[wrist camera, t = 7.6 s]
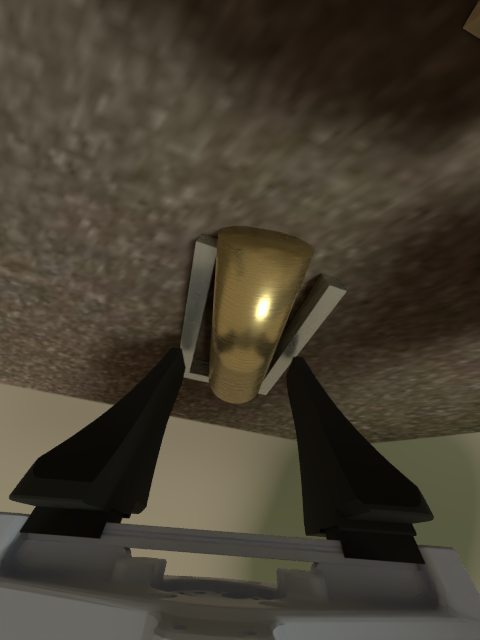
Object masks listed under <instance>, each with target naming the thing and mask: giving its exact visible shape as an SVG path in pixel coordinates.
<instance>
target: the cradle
mask: <svg viewBox="0 0 480 640" xmlns="http://www.w3.org/2000/svg"><path fill="white" fill-rule="evenodd" d="M217 241H218V239H217V238H214V237H211V236H208V235H205V234H202V235H201V236H200V237H199V238H198V240H197V241H196V245H195V252H194V258H193V265H192V271H191V278H190V284H189V291H188V298H187V304H186V311H185V317H184V324H183V331H182V337H181V344H180V348H182V352H183V357H184V362H185V367H186V369H185V373H184V377H185V378H189V379H194V380H198V381H203V382H208V383H209V379H208V377H209V362H206V361H201V360H197V359H194V355H195V351H196V347H197V343H198V338H199V334H200V330H201V326H202V321H203V317H204V313H205V309H206V304H207V300H208V296H209V292H210V287H211V283H212V279H213V275H214V270H215V266H216V256H217ZM346 292H347V290H346V289H345V288H344V287H343V286H342V284H341V283H340V282H339V281H338V280H337V279H336V278H333V277H330V276H327V275H324V274H321V275H320V277H319V278H318V280H317V281H316V283H315V285H314V286H313V288H312V289H311V291H310V292H309V294H308V296H307V297H306V299H305V300H304V302H303V303H302V305H301V307H300V308H299V310H298V311H297V313H296V315H295V316H294V318H293V319H292V321H291V322H290V324H289V326H288V327H287V329H286V330H285V332H284V333H283V335H282V337H281V338H280V340H279V342H278V345H277V347H276V350H275V352H274V355H273V357H272V360H271V363H270V365H269V368H268V370H267V373H266V375H265V378H264V380H263V383H262V385H261V388H260V390H259V392H258V393H259V394H263V395H266V394H267V393H268V392H269V391H270V389H271V388H272V387H273V385H274V384H275V383H276V382H277V380H278V379H279V378H280V376H281V375H282V374H283V373H284V371H285V370H286V369H287V367H288V366H289V365H290V364H291V361H292V359H293V357H296V356H297V355H298V353H299V352H300V351H301V349H302V348H303V347H304V346H305V344H306V343H307V342H308V340H309V339H310V338H311V337H312V335H313V334H314V333H315V331H316V330H317V329H318V328H319V326H320V325H321V324H322V322H323V321H324V320H325V319H326V317H327V316H328V315H329V313H330V312H331V311H332V310H333V308H334V307H335V306H336V304H337V303H338V302H339V301H340V299H341V298H342V297H343V295H344V294H345V293H346Z"/></svg>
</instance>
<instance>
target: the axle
mask: <svg viewBox="0 0 480 640" xmlns="http://www.w3.org/2000/svg"><path fill="white" fill-rule="evenodd" d="M313 254H314V249H313V247H312V246H311V245H309V244H308V243H306V242H305V241H303V240H301V239H299V238H296V237H294V236H291V235H288V234H285V233H281V232H277V231H271V230H265V229H260V228H254V227H247V226H232V227H225V228H222V229H220V230H219V231H218V241H217V256H216V271H215V286H214V301H213V317H212V332H211V347H210V362H209V377H208V379H209V385H210V388H211V390H212V391H213V393H214V394H215V395H216V396H217V397H218V398H220V399H221V400H223V401H225V402H228V403H233V404H240V403H245V402H248V401H250V400H251V399H253V398H254V397H255V396H256V395H257V394H258V392H259V390H260V388H261V385H262V383H263V380H264V378H265V375H266V373H267V370H268V368H269V365H270V363H271V360H272V357H273V355H274V352H275V350H276V347H277V345H278V342H279V340H280V337H281V335H282V332H283V330H284V327H285V325H286V322H287V320H288V317H289V315H290V312H291V310H292V307H293V304H294V302H295V299H296V297H297V294H298V292H299V289H300V287H301V284H302V282H303V279H304V277H305V274H306V272H307V269H308V267H309V264H310V262H311V259H312V256H313Z"/></svg>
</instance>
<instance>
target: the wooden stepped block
mask: <svg viewBox="0 0 480 640" xmlns="http://www.w3.org/2000/svg"><path fill="white" fill-rule="evenodd" d="M463 29H465V30H466V31H468V32H470V33H471V34H473V35H474V36H476V37H477V38H479V39H480V0H479V1H478V3H477V5H476V6H475V8H474V10H473V11H472V13H471V15H470V16H469V18H468V20H467V21H466V23H465V24H464V26H463Z"/></svg>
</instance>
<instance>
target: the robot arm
mask: <svg viewBox="0 0 480 640" xmlns="http://www.w3.org/2000/svg"><path fill="white" fill-rule="evenodd" d="M185 369H186V367H185V362H184V357H183V352H182V348H171V349H170V350H169V351H168V352H167V354H166V355H165V356H164V357H163V358H162V359H161V360H160V362H159V363H158V364H157V365H156V366H155V367H154V368H153V369H152V370H151V371H150V372H149V373H148V375H147V376H146V377H145V378H144V379H143V380H142V381H141V382H140V383H138V384H137V385H136V386H135V387H134V388H133V389H132V390H131V391H130V392H129V393H128V394H127V395H126V396H124V397H123V398H122V399H121V400H120V401H119V402H117V403H116V404H115V405H114V406H113V407H111V408H110V409H109V410H108V411H106V412H105V413H104V414H102V415H101V416H100V417H99V418H97V419H96V420H95V421H93V422H92V423H90V424H89V425H87V426H86V427H85V428H83V429H82V430H80V431H79V432H78V433H76V434H75V435H73V436H72V437H70V438H69V439H67V440H66V441H64V442H63V443H61V444H60V445H58V446H56V447H55V448H53V449H52V450H50V451H49V452H47V453H46V454H44V455H42V456H41V457H39V458H38V459H37V460H36V461H35V463H34V464H33V465H32V466H31V468H30V469H29V470H28V472H27V473H26V474H25V476H24V477H23V478H22V480H21V481H20V482H19V484H18V485H17V486H16V488H15V489H14V490H13V492H12V493H11V494H10V496H9V499H10V500H12V501H16V502H20V503H24V504H29V505H33V506H36V507H35V508H34V510H33V512H32V513H31V515H29V514H21V513H8V512H0V640H480V594H479V593H478V591H477V589H476V587H475V585H474V584H473V582H472V580H471V578H470V576H469V574H468V573H467V571H466V569H465V567H464V565H463V563H462V562H461V560H460V558H459V556H458V554H457V552H456V550H454V549H453V548H452V547H442V546H429V545H417V544H416V541H415V539H414V537H413V536H416V531H415V529H414V527H413V525H412V523H419V522H426V521H431V520H433V518H434V516H433V514H432V512H431V510H430V508H429V506H428V505H427V503H426V501H425V499H424V497H423V495H422V494H421V492H420V490H419V489H418V487H417V486H416V485H414V484H413V483H412V482H411V481H410V480H409V479H408V478H406V477H405V476H404V475H403V474H402V473H401V472H400V471H399V470H397V469H396V468H395V467H394V466H393V465H392V464H391V463H389V462H388V461H387V460H386V459H385V458H384V457H383V456H382V455H381V454H380V453H379V452H378V451H377V450H376V449H375V448H374V447H373V446H372V445H371V444H370V443H369V442H368V441H367V440H366V439H365V438H364V437H363V436H362V435H361V434H360V433H359V432H358V431H357V430H356V429H355V427H354V426H353V425H352V424H351V423H350V422H349V421H348V420H347V418H346V417H345V416H344V415H343V414H342V413H341V411H340V410H339V409H338V408H337V406H336V405H335V404H334V403H333V401H332V400H331V399H330V397H329V396H328V395H327V393H326V392H325V390H324V389H323V388H322V386H321V385H320V383H319V382H318V380H317V379H316V377H315V376H314V374H313V373H312V371H311V370H310V368H309V366H308V365H307V363H306V361H305V360H304V358H303V357H293V359H292V361H291V364H290V367H289V370H288V372H287V375H286V378H287V389H288V395H289V400H290V405H291V410H292V414H293V419H294V424H295V429H296V435H297V443H298V451H299V462H300V471H301V484H302V496H303V512H304V513H303V514H304V526H305V532H306V535H307V536H319V537H326V538H327V540H324V539H312V538H311V539H310V538H299V537H286V536H273V535H260V534H248V533H234V532H222V531H209V530H197V529H184V528H171V527H159V526H146V525H133V524H120V523H121V520H122V518H130V516H131V513H132V514H139V513H141V512H142V511H143V510H144V509H145V508H146V506H147V501H148V497H149V492H150V487H151V483H152V478H153V474H154V470H155V466H156V462H157V458H158V454H159V450H160V447H161V443H162V439H163V435H164V432H165V428H166V424H167V422H168V419H169V416H170V413H171V411H172V408H173V405H174V403H175V400H176V398H177V395H178V392H179V390H180V387H181V384H182V381H183V377H184V373H185ZM130 548H139V549H152V550H165V551H178V552H190V553H203V554H216V555H228V556H241V557H254V558H266V559H280V560H292V561H305V562H314V563H313V564H312V567H311V570H310V571H305V570H297V569H277V584H271V583H262V582H253V581H244V580H235V579H224V578H210V577H192V576H191V577H190V576H168V575H164V572H165V567H166V563H167V562H166V560H165V559H157V558H147V557H132V556H131V550H130Z"/></svg>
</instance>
